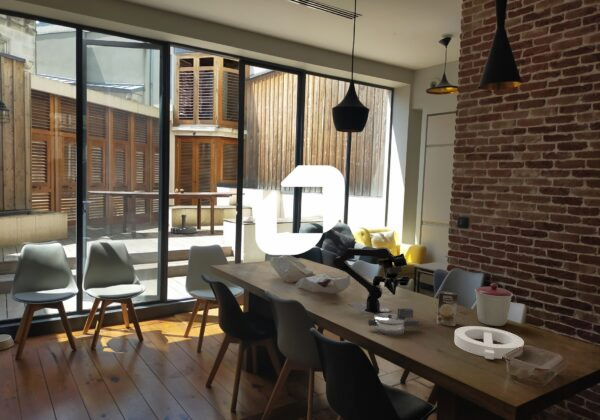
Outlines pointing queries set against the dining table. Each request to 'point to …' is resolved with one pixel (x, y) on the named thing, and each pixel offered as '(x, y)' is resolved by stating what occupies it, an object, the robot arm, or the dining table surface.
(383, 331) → the pot
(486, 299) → the canister
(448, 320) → the coffee box
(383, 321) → the lid
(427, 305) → the dining table surface
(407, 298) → the dining table surface
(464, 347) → the ring with crossbar
